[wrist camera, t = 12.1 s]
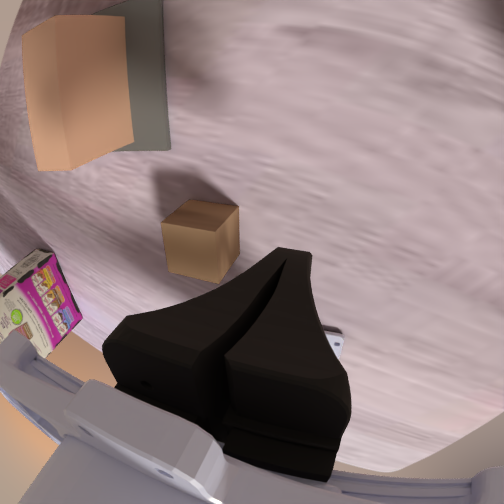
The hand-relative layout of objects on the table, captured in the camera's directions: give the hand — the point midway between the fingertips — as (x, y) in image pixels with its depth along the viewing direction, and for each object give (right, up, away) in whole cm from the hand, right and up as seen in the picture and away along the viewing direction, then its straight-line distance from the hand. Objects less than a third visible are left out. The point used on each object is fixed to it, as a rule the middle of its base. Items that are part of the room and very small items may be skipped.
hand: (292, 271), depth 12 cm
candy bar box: (-28, -4, +26) cm, 38 cm away
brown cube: (-4, +3, +12) cm, 13 cm away
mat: (-12, +14, +8) cm, 20 cm away
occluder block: (-12, +14, +8) cm, 20 cm away
